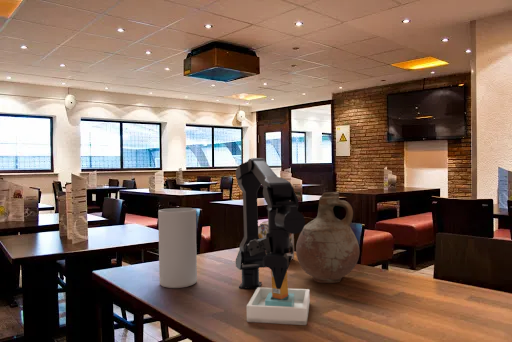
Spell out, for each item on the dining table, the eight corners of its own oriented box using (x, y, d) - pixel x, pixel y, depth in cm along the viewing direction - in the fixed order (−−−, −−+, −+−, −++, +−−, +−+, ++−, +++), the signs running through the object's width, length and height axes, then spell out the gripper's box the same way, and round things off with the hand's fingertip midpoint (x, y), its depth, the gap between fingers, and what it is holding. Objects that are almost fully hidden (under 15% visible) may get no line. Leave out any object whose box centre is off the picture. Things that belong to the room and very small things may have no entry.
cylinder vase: (170, 291, 127) (169, 212, 127) (153, 283, 136) (152, 210, 136) (203, 283, 135) (202, 209, 135) (185, 276, 144) (184, 207, 144)
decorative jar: (276, 255, 177) (275, 214, 177) (295, 259, 168) (294, 217, 168) (255, 259, 170) (255, 217, 169) (274, 264, 161) (273, 219, 160)
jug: (303, 269, 151) (302, 190, 151) (362, 273, 144) (361, 190, 144) (289, 285, 131) (288, 194, 131) (356, 291, 124) (355, 195, 123)
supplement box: (278, 294, 110) (277, 258, 110) (288, 296, 108) (288, 259, 107) (270, 297, 107) (270, 260, 107) (281, 300, 105) (280, 262, 105)
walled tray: (257, 300, 116) (257, 287, 116) (309, 303, 114) (309, 289, 114) (246, 321, 101) (246, 306, 101) (306, 325, 98) (306, 308, 98)
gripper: (255, 222, 118) (256, 275, 118) (242, 233, 99) (243, 295, 100) (293, 223, 116) (294, 276, 116) (286, 234, 97) (287, 297, 98)
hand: (279, 286), depth 107 cm, fingers closed on supplement box, 4 cm apart
